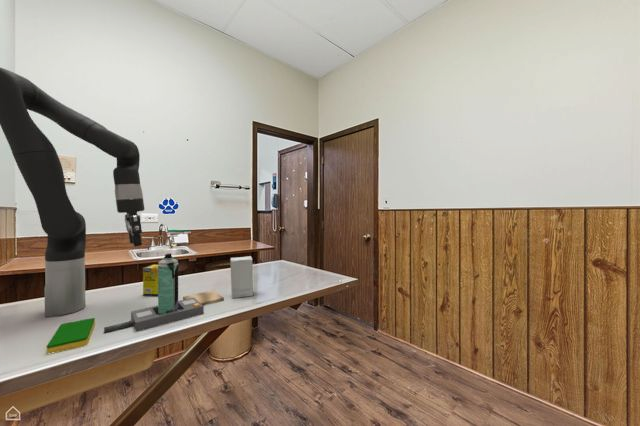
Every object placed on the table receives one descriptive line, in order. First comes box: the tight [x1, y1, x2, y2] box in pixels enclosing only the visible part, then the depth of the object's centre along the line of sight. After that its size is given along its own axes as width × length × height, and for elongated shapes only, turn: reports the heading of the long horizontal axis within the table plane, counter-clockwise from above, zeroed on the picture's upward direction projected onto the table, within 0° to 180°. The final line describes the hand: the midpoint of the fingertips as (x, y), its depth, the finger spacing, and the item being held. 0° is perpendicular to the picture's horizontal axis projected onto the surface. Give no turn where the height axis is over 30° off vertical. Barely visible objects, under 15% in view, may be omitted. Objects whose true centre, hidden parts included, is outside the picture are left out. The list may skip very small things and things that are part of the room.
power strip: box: [103, 298, 205, 333], centre depth 78 cm, size 24×10×3 cm, turn 133°
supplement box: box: [142, 264, 158, 297], centre depth 100 cm, size 6×6×11 cm
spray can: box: [157, 252, 179, 316], centre depth 80 cm, size 6×6×20 cm
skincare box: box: [230, 255, 254, 299], centre depth 100 cm, size 8×6×15 cm
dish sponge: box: [46, 317, 96, 354], centre depth 67 cm, size 7×14×2 cm, turn 36°
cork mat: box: [182, 289, 225, 306], centre depth 94 cm, size 11×11×1 cm
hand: (135, 244), depth 88 cm, fingers open, 8 cm apart
